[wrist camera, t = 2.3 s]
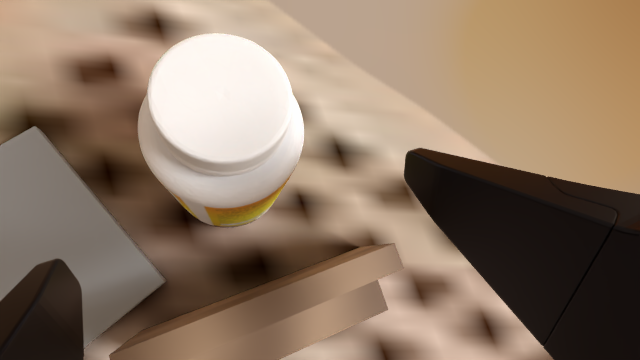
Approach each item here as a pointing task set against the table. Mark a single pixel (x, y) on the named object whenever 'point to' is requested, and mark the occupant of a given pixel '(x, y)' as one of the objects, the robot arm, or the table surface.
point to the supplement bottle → (221, 128)
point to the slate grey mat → (67, 233)
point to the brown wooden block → (275, 313)
